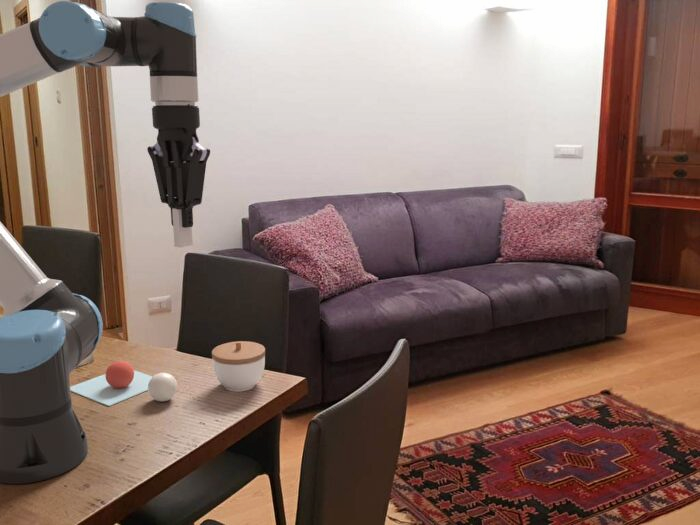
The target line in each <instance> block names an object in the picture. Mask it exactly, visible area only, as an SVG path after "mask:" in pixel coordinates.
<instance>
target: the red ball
mask: <svg viewBox="0 0 700 525" xmlns="http://www.w3.org/2000/svg"><path fill="white" fill-rule="evenodd" d="M104 374H105V376H106V381H107V382H108V384H109V385H110V386H112V387H114V388H124V387H126V386H128V385H129V384H130V383H131V382H132V380H133V378H134V368H133V366H132V365H131V364H130V363H129V362H127V361H124V360H117V361H115V362H112V363H110V365H108V367H107V368H106V371H105V373H104Z"/></svg>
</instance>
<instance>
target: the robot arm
mask: <svg viewBox="0 0 700 525" xmlns="http://www.w3.org/2000/svg"><path fill="white" fill-rule="evenodd" d="M144 10H145V12H144V15H143V16H135V17H133V16H131V17H127V16H110V15H107V14H106V13H103V12H101V11H98V10H95V9H94V8H92V7H90V6H89V5H86V4H84V3H82V2H79V1H70V0H59V1H55V2H53V3H51V4H50V5H48V6H47V7H46V8H45V9H44V10H43V12H42V14H41V16H39V18H36V19H34V20H31V21H29V22H27V23H25V24H22V25H20V26H17V27H15V28H12V29H10V30H7V31H5V32H2V33H0V98H1V97H4V96H6V95H8V94H12V93H14V92H15V91H18V90H20V89H23V88H25V87H28V86H30V85H33V84H35V83H38V82H40V81H43V80H45V79H47V78H50V77H52V76H54V75H57V74H59V73H62V72H65V71H67V70H70V69H73V68H75V67H78V66H80V67H82V66H84V67H92V68H93V67H94V68H102V67H148V68H149V87H150V88H149V89H150V101H151V102H153V103H154V104H155V105H153V106H152V108H151V113H152V115H151V116H152V118H151V119H152V126H153V128H154V129H156V130H157V136H156V143H155V144H154V145H151V146H148V147H147V148H146V149H147V153H148V154H149V157H150V159H151V161H152V162H151V163H152V166H153V170H154V172H153V173H154V175H155V180H156V185H157V189H158V194H159V198H160V202H161V203H162V204H167V205H168V208H170V220H171V223H170V224H171V226H172V228H173V244H174V245H173V246H174V247H175V248H184V247H189V246H192V245H193V229H192V228H193V226H194V214H193V213H194V212H193V208H194V207H196V206H198V205H201V204H202V202H203V195H204V194H203V193H204V186H205V185H204V184H205V178H206V168H207V161H209V160H208V159H209V157H210V154H211V149H210V148H209V147H203V146H202V145H201V144H200V143H199V141H200V140H199V136H198V134H197V130H198V129H199V128H200V125H201V121H200V120H201V118H200V107H199V106H198V105H196V103H197V102H199V87H198V86H199V83H198V82H199V81H198V63H197V61H198V60H197V58H198V57H197V34H196V28H195V27H196V26H195V19H194V18H195V17H194V12H193V9H192V7H190V6H189V5H187V4H184V3H179V2H172V1H159V2H150V3H148V4H146V6H145V9H144ZM0 306H1V307H2V309H3V315H2V316H1V317H0V483H2V484H7V485H8V484H10V485H11V484H13V485H17V484H18V485H19V484H20V485H21V484H31V483H35V482H41V481H44V480H49V479H52V478H55V477H58V476H59V475H62V474H64V473H67V472H68V471H71V470H73V469H74V468H75V467H77V466H78V465H80V464H81V463H82V462H83V461H84V459H85V458H86V457H87V454H88V452H89V447H88V446H89V445H88V438H87V435H86V433H85V431H84V429H83V426H82V424H81V422H80V421H79V419H78V417H77V414H76V412H75V411H74V409H73V402H72V394H71V393H72V392H71V391H70V387H71V384H70V374H71V373H72V372H74V370H75V369H76V368H78V367H79V366H78V365H79V364H80V363H81V362H82V360H84V359H85V358H86V357H88V356H89V355H90V354H91V353H92V352H93V353H94V350H96V347H97V345H98V344H99V343H100V341H101V338H102V334H103V331H104V330H103V329H104V323H103V318H102V315H101V312H100V310H99V308H98V307H97V305H96V304H95V303H94V302H93V301H92V300H91V299H90V298H88V297H86V296H84V295H82V294H78V293H74V292H72V291H71V290H70V289H69V287H68V286H67V285H66V284H65V282H64V281H63V280H60V279H54V278H49V277H47V275H46V274H45V273H44V272H43V271H42V270H41V268H40V267H39V266H38V265H37V263H36V262H35V261H34V260H33V259H32V257H31V256H30V255H29V254H28V253H27V252H26V250H25V249H24V248H23V246H22V245H21V244H20V243H19V241H17V239H16V238H15V237H14V236H13V235H12V234H11V232H10V231H9V230H8V229H7V227H6V226H5V225H4V224H3V223H2V222H1V221H0ZM77 366H78V367H77Z"/></svg>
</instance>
